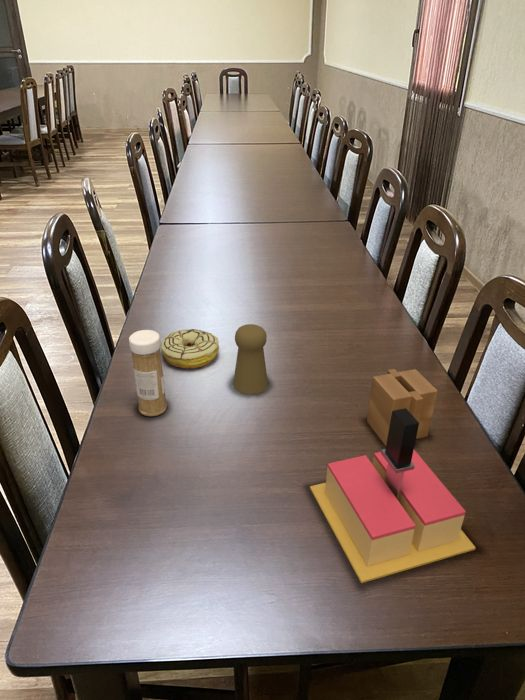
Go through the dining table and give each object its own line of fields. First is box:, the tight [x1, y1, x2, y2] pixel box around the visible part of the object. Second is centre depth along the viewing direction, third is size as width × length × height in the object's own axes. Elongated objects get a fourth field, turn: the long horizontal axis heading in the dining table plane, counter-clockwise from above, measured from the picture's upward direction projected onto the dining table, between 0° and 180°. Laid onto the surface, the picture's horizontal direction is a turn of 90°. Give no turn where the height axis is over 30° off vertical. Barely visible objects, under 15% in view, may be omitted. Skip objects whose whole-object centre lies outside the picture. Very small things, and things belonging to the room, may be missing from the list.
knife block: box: [366, 368, 438, 447], centre depth 80 cm, size 7×8×8 cm
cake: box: [309, 449, 476, 584], centre depth 66 cm, size 15×15×5 cm
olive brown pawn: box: [232, 323, 269, 396], centre depth 89 cm, size 6×6×11 cm
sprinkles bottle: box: [128, 329, 168, 417], centre depth 83 cm, size 5×5×14 cm
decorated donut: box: [160, 328, 220, 369], centre depth 99 cm, size 10×11×4 cm
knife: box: [380, 408, 419, 500], centre depth 63 cm, size 2×4×16 cm, turn 18°
